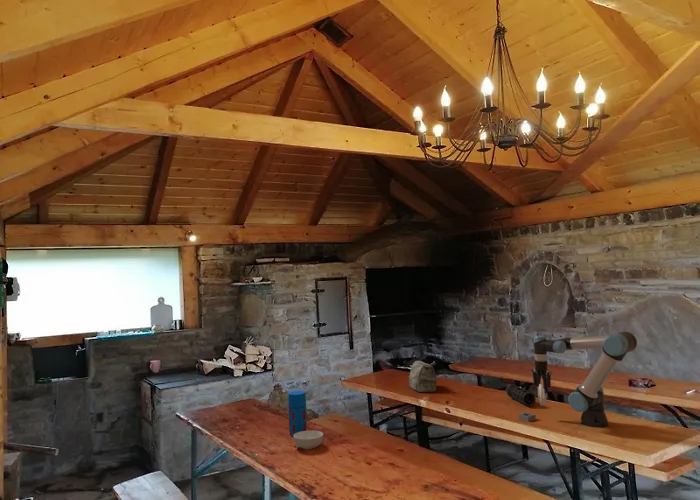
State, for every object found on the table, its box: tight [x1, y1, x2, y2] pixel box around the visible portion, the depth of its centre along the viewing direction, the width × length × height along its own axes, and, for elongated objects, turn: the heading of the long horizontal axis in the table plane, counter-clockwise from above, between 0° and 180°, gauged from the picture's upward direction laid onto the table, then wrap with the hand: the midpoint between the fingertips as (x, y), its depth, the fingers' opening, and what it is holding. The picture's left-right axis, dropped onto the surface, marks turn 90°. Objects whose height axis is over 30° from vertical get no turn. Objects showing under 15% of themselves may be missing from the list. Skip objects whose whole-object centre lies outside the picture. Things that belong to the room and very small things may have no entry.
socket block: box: [517, 411, 537, 423], centre depth 326 cm, size 7×7×3 cm
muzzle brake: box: [505, 384, 537, 408], centre depth 366 cm, size 10×28×10 cm, turn 8°
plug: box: [539, 382, 547, 406], centre depth 325 cm, size 4×4×13 cm
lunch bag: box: [408, 360, 438, 393], centre depth 417 cm, size 26×18×22 cm
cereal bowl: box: [293, 429, 324, 450], centre depth 290 cm, size 17×17×7 cm
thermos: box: [287, 390, 308, 437], centre depth 315 cm, size 11×11×25 cm
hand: (542, 397), depth 324 cm, fingers closed on plug, 3 cm apart
